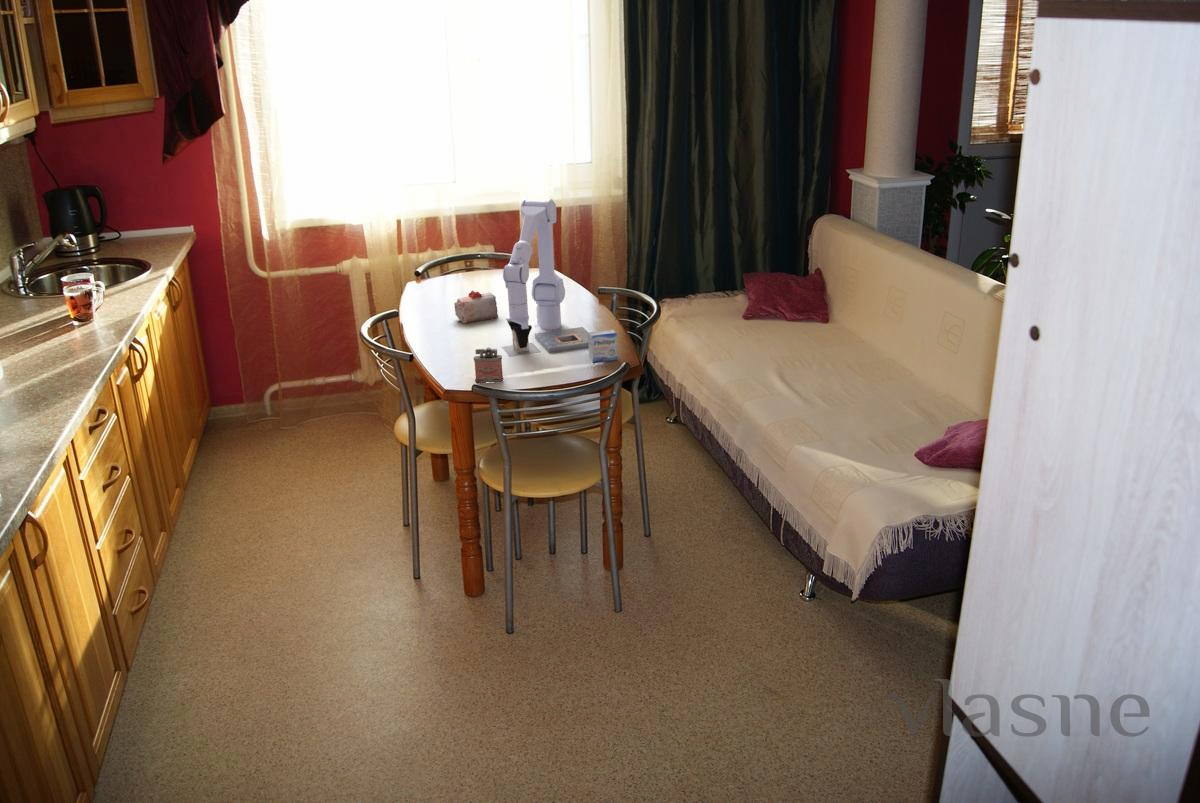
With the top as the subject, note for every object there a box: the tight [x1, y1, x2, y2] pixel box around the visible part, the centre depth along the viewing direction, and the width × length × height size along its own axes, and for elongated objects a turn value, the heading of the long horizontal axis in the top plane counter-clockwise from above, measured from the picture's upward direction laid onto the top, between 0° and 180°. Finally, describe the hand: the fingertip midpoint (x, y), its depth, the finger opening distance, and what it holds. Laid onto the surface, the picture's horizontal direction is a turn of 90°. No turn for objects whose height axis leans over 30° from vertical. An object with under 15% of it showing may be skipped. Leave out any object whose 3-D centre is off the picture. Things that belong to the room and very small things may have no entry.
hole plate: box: [534, 326, 589, 354], centre depth 318 cm, size 16×16×3 cm
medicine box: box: [588, 329, 618, 364], centre depth 303 cm, size 8×4×9 cm, turn 105°
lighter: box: [473, 347, 505, 385], centre depth 289 cm, size 8×3×10 cm, turn 92°
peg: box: [511, 330, 530, 352], centre depth 312 cm, size 4×4×6 cm
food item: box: [453, 290, 499, 325], centre depth 346 cm, size 14×8×10 cm, turn 118°
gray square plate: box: [501, 342, 542, 357], centre depth 313 cm, size 10×10×1 cm
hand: (520, 345), depth 313 cm, fingers open, 5 cm apart
